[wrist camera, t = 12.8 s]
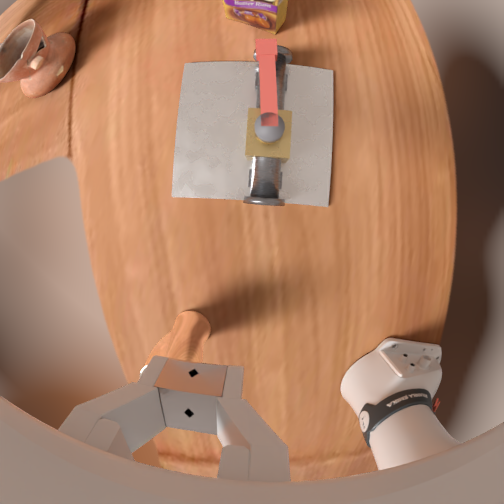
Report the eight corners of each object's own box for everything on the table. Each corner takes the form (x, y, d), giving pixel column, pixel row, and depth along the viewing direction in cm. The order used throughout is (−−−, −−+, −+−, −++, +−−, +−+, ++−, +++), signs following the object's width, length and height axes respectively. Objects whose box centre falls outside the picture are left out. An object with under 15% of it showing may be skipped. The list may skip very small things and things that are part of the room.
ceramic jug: (97, 48, 32) (54, 18, 18) (53, 113, 35) (1, 100, 21) (57, 31, 30) (20, 9, 16) (20, 85, 32) (-22, 73, 19)
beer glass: (189, 299, 41) (157, 351, 27) (222, 328, 42) (205, 389, 28) (164, 325, 42) (128, 379, 28) (195, 351, 43) (172, 412, 29)
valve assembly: (331, 71, 33) (345, 49, 25) (326, 207, 37) (342, 212, 30) (186, 64, 33) (171, 41, 25) (173, 198, 38) (153, 200, 30)
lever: (284, 142, 28) (285, 140, 26) (255, 143, 28) (254, 140, 27) (279, 45, 25) (279, 38, 24) (252, 45, 25) (252, 39, 24)
